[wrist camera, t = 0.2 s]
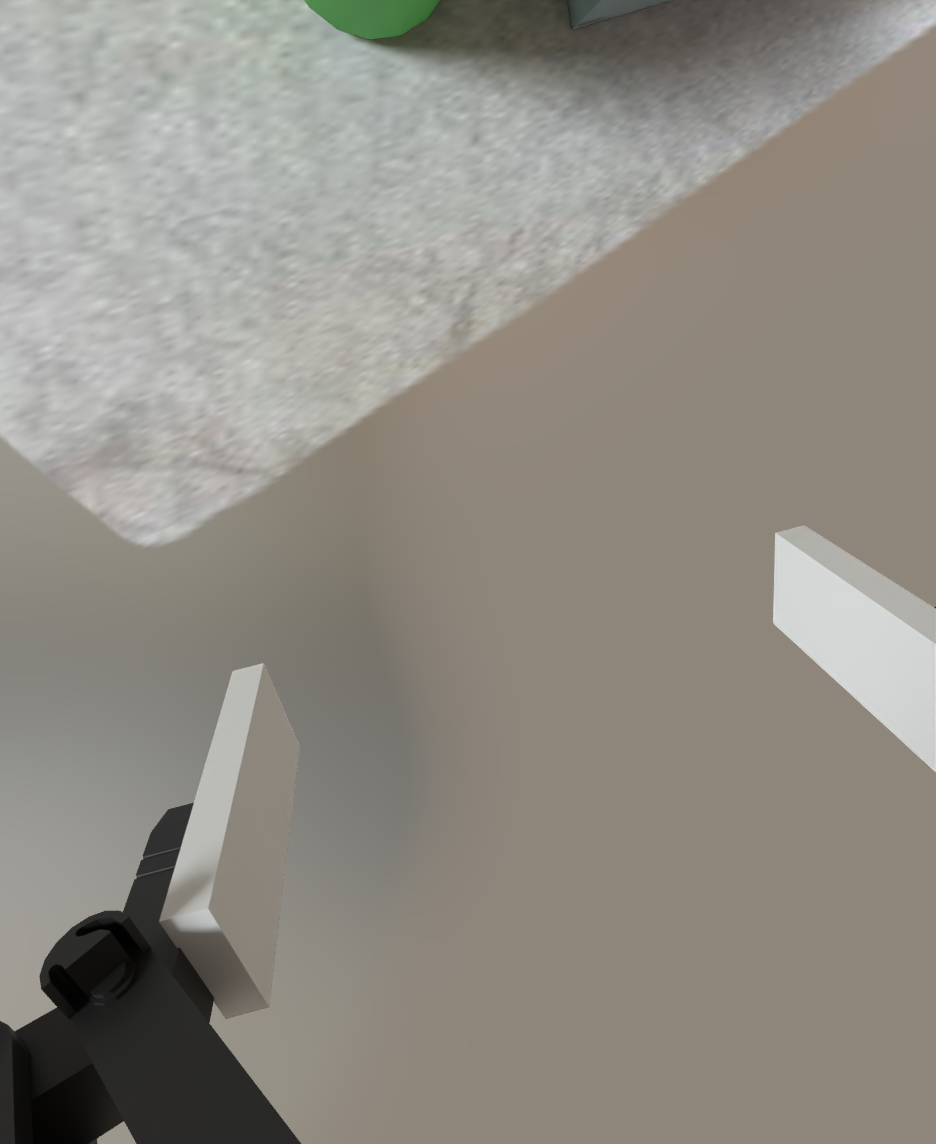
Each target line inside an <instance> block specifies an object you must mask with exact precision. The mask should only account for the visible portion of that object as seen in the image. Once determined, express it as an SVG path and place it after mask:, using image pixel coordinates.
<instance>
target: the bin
mask: <svg viewBox="0 0 936 1144" xmlns="http://www.w3.org/2000/svg"><path fill="white" fill-rule="evenodd" d="M567 1H568V8H569V15H570V21H571V28H572V30H574V29H577V28H581V27H584V26H587V25H591V24H594V23H597V22H601V21H604V20H607V19H611V18H614V17H617V16H621V15H624V14H627V13H631V12H634V11H637V10H641V9H644V8H647V7H651V6H654V5H657V4H661V3H664V2H667V1H671V0H567Z"/></svg>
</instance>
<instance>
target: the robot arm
mask: <svg viewBox="0 0 936 1144" xmlns="http://www.w3.org/2000/svg"><path fill="white" fill-rule="evenodd" d="M774 573H775V574H774V612H773V613H774V614H773V623H774V624H775V625H776V626H777V627H778V628H779V629H780V630H781V631H782V632H783V633H784V634H786V635H787V636H788V637H789V638H790V639H791V640H792V641H793V642H794V643H795V644H796V645H798V646H799V647H800V648H801V649H802V650H803V651H804V652H805V653H806V654H807V655H808V656H810V657H811V658H812V659H813V660H814V661H815V662H816V663H817V664H818V665H819V666H821V667H822V668H823V669H824V670H825V671H826V672H827V673H828V674H829V675H830V676H831V677H833V678H834V679H835V680H836V681H837V682H838V683H839V684H840V685H841V686H842V687H843V688H844V689H846V690H847V691H848V692H849V693H850V694H851V695H852V696H853V697H854V698H855V699H856V700H858V701H859V702H860V703H861V704H862V705H863V706H864V707H865V708H866V709H867V710H869V711H870V712H871V713H872V714H873V715H874V716H875V717H876V718H877V719H878V720H879V721H881V722H882V723H883V724H884V725H885V726H886V727H887V728H888V729H889V730H890V731H891V732H893V733H894V734H895V735H896V736H897V737H898V738H899V739H900V740H901V741H902V742H903V743H905V744H906V745H907V746H908V747H909V748H910V749H911V750H912V751H913V752H914V753H916V754H917V755H918V756H919V757H920V758H921V759H922V760H923V761H924V762H925V763H926V764H927V765H929V766H930V767H931V768H932V769H933V770H934V771H935V772H936V607H932V606H931V605H929V604H928V603H926V602H924V601H923V600H921V599H919V598H918V597H917V596H915V595H913V594H912V593H910V592H908V591H907V590H905V589H904V588H902V587H901V586H899V585H898V584H896V583H894V582H893V581H891V580H889V579H888V578H886V577H885V576H883V575H882V574H880V573H879V572H877V571H875V570H874V569H872V568H871V567H869V566H867V565H866V564H864V563H863V562H861V561H860V560H858V559H856V558H855V557H853V556H852V555H850V554H849V553H847V552H845V551H844V550H842V549H841V548H839V547H837V546H836V545H834V544H832V543H831V542H830V541H828V540H826V539H825V538H823V537H821V536H820V535H819V534H817V533H815V532H814V531H812V530H811V529H809V528H807V527H806V526H800V527H797V528H793V529H789V530H785V531H781V532H777V533H775V572H774ZM299 749H300V746H299V744H298V741H297V739H296V737H295V734H294V732H293V730H292V727H291V725H290V723H289V720H288V718H287V716H286V714H285V711H284V709H283V707H282V704H281V702H280V700H279V697H278V695H277V693H276V690H275V688H274V686H273V684H272V681H271V679H270V677H269V674H268V672H267V670H266V667H265V665H264V663H263V664H259V665H255V666H251V667H247V668H243V669H239V670H235V671H233V672H232V675H231V679H230V682H229V686H228V689H227V692H226V696H225V699H224V703H223V706H222V709H221V713H220V716H219V720H218V723H217V726H216V730H215V734H214V737H213V740H212V743H211V747H210V750H209V754H208V757H207V760H206V764H205V767H204V771H203V774H202V777H201V781H200V784H199V788H198V791H197V794H196V798H195V801H194V803H191V804H187V805H183V806H180V807H176V808H172V809H169V810H168V811H167V812H166V813H165V815H164V816H163V817H162V818H161V820H160V821H159V823H158V824H157V825H156V827H155V828H154V829H153V830H152V832H151V834H150V837H149V840H148V842H147V845H146V848H145V851H144V854H143V860H141V862H140V865H139V868H138V871H137V874H136V876H137V879H135V880H134V883H133V885H132V888H131V891H130V893H129V896H128V899H127V902H126V905H125V908H124V910H123V913H122V912H121V911H104V912H101V913H98V914H95V915H93V916H90V917H88V918H86V919H85V920H83V921H82V922H80V923H79V924H77V925H76V926H74V927H72V928H71V929H70V930H69V931H68V932H67V933H66V934H65V935H64V936H63V937H62V938H61V939H60V940H59V941H58V942H57V943H56V944H55V946H54V947H53V949H52V950H51V951H50V953H49V954H48V956H47V957H46V959H45V961H44V964H43V967H42V970H41V973H40V983H41V989H42V990H43V991H44V993H45V994H46V995H47V996H48V997H49V998H50V999H51V1000H52V1002H53V1003H54V1004H55V1005H56V1006H57V1008H55V1009H54V1010H52V1011H50V1012H49V1013H47V1014H45V1015H43V1016H41V1017H40V1018H38V1019H36V1020H34V1021H32V1022H31V1023H29V1024H27V1025H25V1026H24V1027H22V1028H20V1029H18V1030H17V1031H15V1032H14V1031H13V1030H12V1029H11V1028H10V1027H9V1026H8V1025H7V1024H5V1023H3V1022H1V1021H0V1144H97V1138H98V1137H99V1136H101V1135H103V1134H104V1133H106V1132H107V1131H109V1130H111V1129H112V1128H114V1127H115V1126H117V1125H118V1124H120V1123H121V1122H123V1121H124V1122H125V1123H126V1125H127V1127H128V1129H129V1130H130V1132H131V1134H132V1136H133V1138H134V1140H135V1142H136V1143H137V1144H301V1143H300V1142H299V1141H298V1140H297V1138H296V1137H295V1135H294V1134H293V1133H292V1131H291V1130H290V1129H289V1127H288V1126H287V1125H286V1123H285V1122H284V1121H283V1119H282V1118H281V1117H280V1116H279V1114H278V1113H277V1112H276V1110H275V1109H274V1108H273V1106H272V1105H271V1104H270V1103H269V1101H268V1100H267V1098H266V1097H265V1096H264V1095H263V1093H262V1092H261V1091H260V1089H259V1088H258V1087H257V1085H256V1084H255V1083H254V1082H253V1080H252V1079H251V1077H250V1076H249V1075H248V1074H247V1072H246V1071H245V1070H244V1068H243V1067H242V1066H241V1064H240V1063H239V1062H238V1060H237V1059H236V1058H235V1057H234V1055H233V1054H232V1053H231V1051H230V1050H229V1049H228V1047H227V1046H226V1045H225V1043H224V1042H223V1041H222V1040H221V1038H220V1037H219V1036H218V1034H217V1033H216V1032H215V1030H214V1029H213V1028H212V1026H211V1025H210V1024H209V1022H210V1017H211V1012H212V1006H213V1001H214V1002H215V1004H216V1005H217V1007H218V1008H219V1010H220V1011H221V1013H222V1014H223V1016H224V1017H225V1018H226V1019H228V1018H231V1017H235V1016H239V1015H242V1014H246V1013H249V1012H253V1011H257V1010H260V1009H264V1008H268V1007H269V1005H270V996H271V988H272V979H273V971H274V962H275V954H276V945H277V936H278V928H279V919H280V910H281V902H282V894H283V885H284V876H285V867H286V860H287V851H288V843H289V834H290V825H291V817H292V809H293V800H294V791H295V783H296V774H297V766H298V757H299Z"/></svg>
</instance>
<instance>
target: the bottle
mask: <svg viewBox="0 0 936 1144" xmlns="http://www.w3.org/2000/svg"><path fill="white" fill-rule="evenodd" d="M439 1H440V0H305V2H306V3H307V5H308V6H309V7H310V8H311V9H312V10H314V11H315V12H316V13H317V14H319V15H320V16H321V17H322V18H324V19H325V20H326V21H328V22H329V23H330V24H331V25H333V26H334V27H335V28H336V29H338V30H340V31H343V32H347V33H350V34H353V35H356V36H360V37H363V38H366V39H369V40H370V39H378V38H386V37H394V36H401V35H402V34H404V33H405V32H407V31H408V30H410V29H412V28H413V27H415V26H416V25H418V24H419V23H421V22H423V21H424V20H426V19H427V18H428V17H429V15H430V14H431V13H432V11H433V10H434V8H435V7H436V6H437V4H438V3H439Z"/></svg>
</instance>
